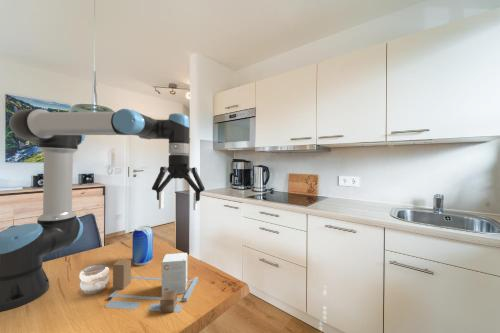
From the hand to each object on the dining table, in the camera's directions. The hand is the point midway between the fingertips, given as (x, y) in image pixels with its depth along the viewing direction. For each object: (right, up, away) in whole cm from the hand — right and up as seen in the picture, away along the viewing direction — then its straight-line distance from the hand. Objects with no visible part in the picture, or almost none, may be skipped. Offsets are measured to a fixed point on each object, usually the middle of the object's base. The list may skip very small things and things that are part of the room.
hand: (178, 208), depth 81 cm
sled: (-6, -29, -6) cm, 30 cm away
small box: (+1, -29, -6) cm, 30 cm away
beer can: (-22, -28, +15) cm, 39 cm away
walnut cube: (+2, -28, -16) cm, 32 cm away
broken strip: (-6, -29, -15) cm, 33 cm away
